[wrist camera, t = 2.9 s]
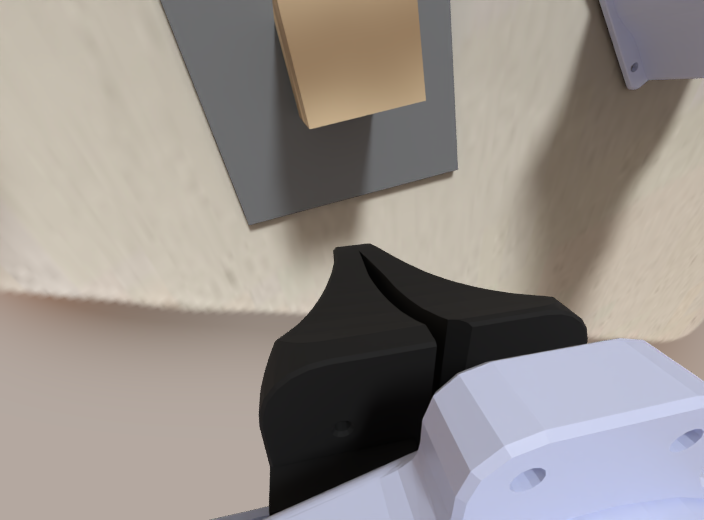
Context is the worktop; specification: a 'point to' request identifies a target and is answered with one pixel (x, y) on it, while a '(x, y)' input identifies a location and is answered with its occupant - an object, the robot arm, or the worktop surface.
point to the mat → (288, 128)
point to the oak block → (350, 56)
